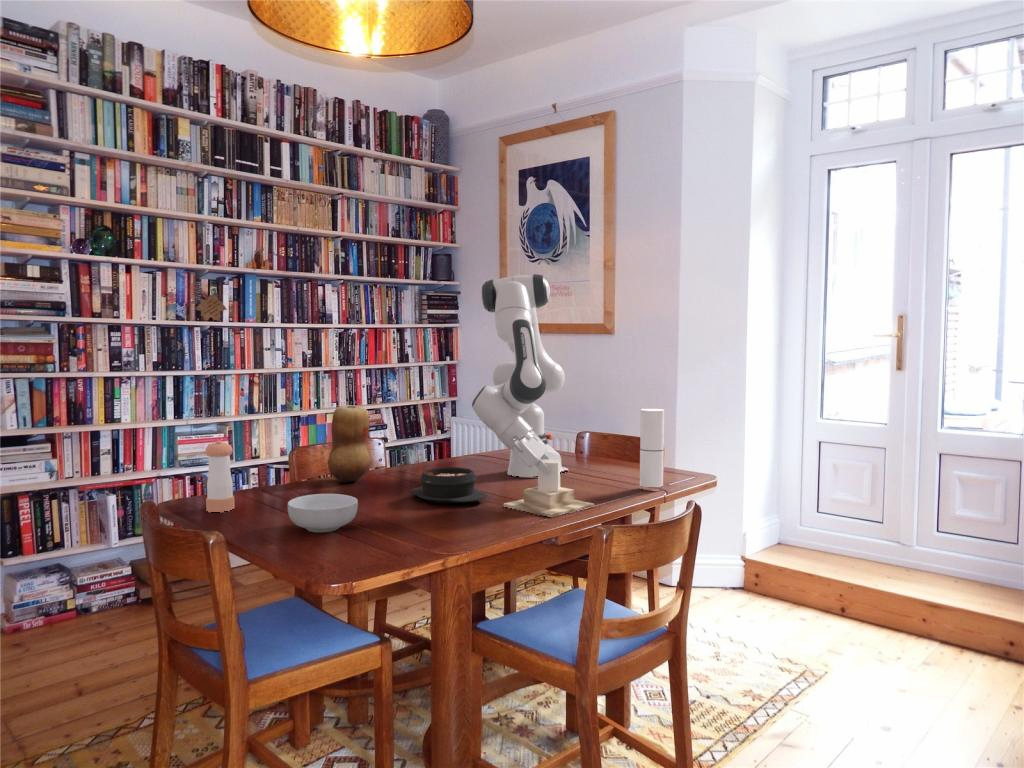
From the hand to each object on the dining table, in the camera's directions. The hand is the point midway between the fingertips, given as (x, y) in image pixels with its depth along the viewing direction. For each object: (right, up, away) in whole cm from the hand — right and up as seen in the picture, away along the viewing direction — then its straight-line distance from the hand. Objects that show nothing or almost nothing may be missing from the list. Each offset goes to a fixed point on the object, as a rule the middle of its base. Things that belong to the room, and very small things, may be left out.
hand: (551, 470), depth 208 cm
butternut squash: (-64, -8, +36) cm, 74 cm away
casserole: (-30, -10, +10) cm, 33 cm away
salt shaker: (-91, -11, -3) cm, 92 cm away
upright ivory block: (-1, -5, 0) cm, 5 cm away
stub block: (-1, -10, +1) cm, 10 cm away
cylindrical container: (+33, -9, +25) cm, 42 cm away
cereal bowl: (-58, -12, -22) cm, 63 cm away
